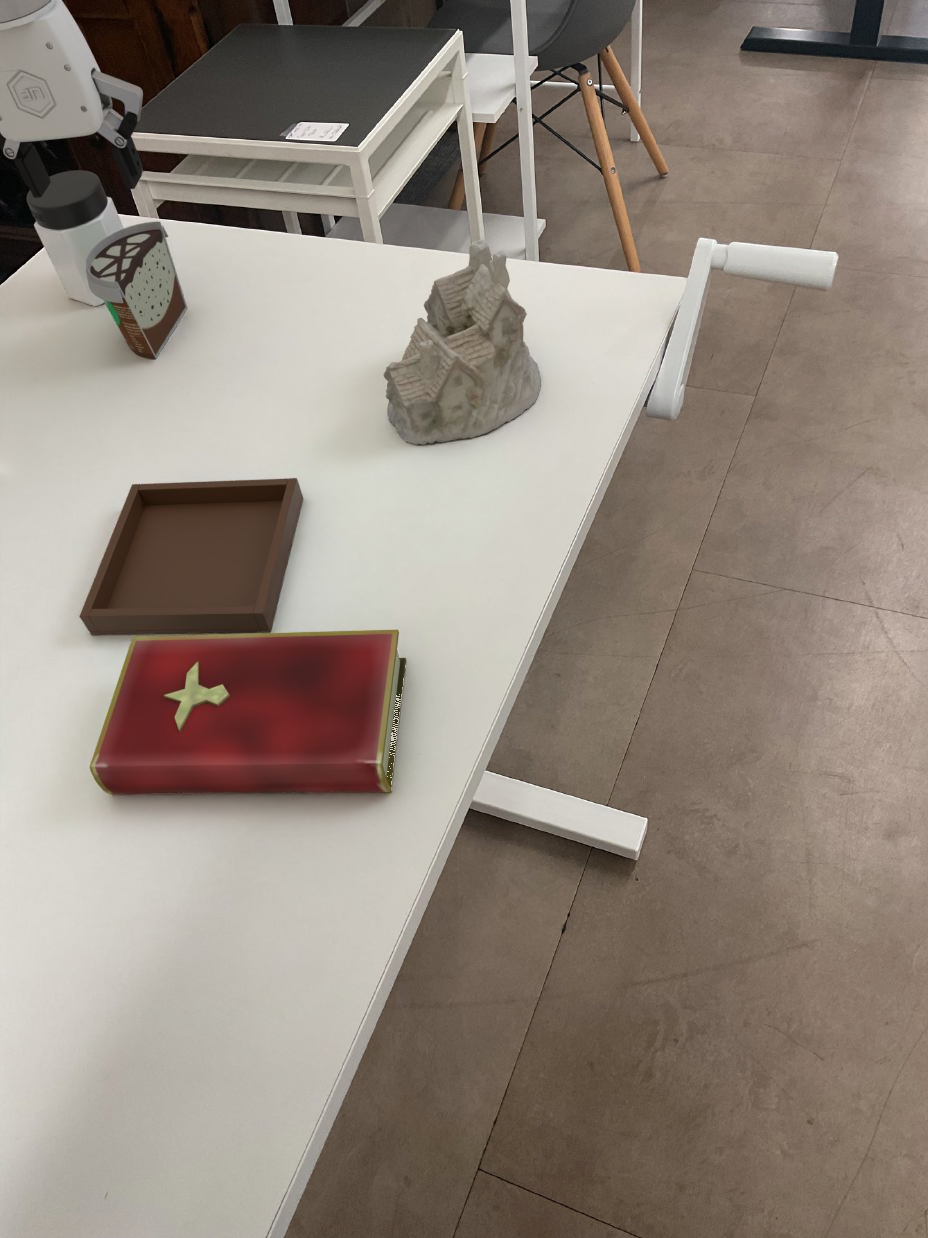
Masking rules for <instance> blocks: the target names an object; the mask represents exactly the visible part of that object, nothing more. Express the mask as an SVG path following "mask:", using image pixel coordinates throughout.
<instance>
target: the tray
mask: <svg viewBox="0 0 928 1238" xmlns="http://www.w3.org/2000/svg"><path fill="white" fill-rule="evenodd" d="M303 502H304V494H303V491H302V489H301V487H300V484H299V480H298V478H297V477H290V478H289V477H288V478H263V479H239V480H238V479H237V480H210V481H208V480H207V481H186V482H184V481H183V482H182V481H181V482H156V483H132V484H131V486H130V489H129V490H128V493H127V496H126V498H125V501H124V504H123V506H122V509H121V511H120V514H119V516H118V518H117V520H116V524H115V526H114V529H113V531H112V534H111V536H110V538H109V540H108V543H107V546H106V549H105V551H104V552H103V553H104V554H103V556H102V557H101V558H102V559H101V561H100V563H99V566H98V569H97V572H96V573H95V576H94V578H93V581H92V584H91V586H90V589H89V591H88V594H87V596H86V598H85V600H84V603H83V606H82V609H81V611H80V613H79V618H80V620H81V621H82V623H83V624H84V627H85V628H86V629H87V631H88V632H89V634H90V635H91V636H115V635H120V636H121V635H123V636H124V635H171V634H172V635H176V634H177V635H182V634H184V635H186V634H188V635H189V634H253V633H272V630H273V625H274V620H275V616H276V611H277V609H278V604H279V601H280V600H279V599H280V596H281V592H282V587H283V584H284V580H285V575H286V571H287V567H288V563H289V558H290V555H291V550H292V546H293V542H294V540H295V539H294V538H295V534H296V530H297V526H298V522H299V518H300V514H301V509H302V505H303Z"/></svg>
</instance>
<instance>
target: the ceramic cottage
mask: <svg viewBox="0 0 928 1238" xmlns="http://www.w3.org/2000/svg"><path fill="white" fill-rule="evenodd" d="M468 249H469V252H468V253H469V255H468V256H469V260H468V265H467V266H466V267H465V268H462V269H460V270H457V271H456V272H454V273H452V274H449V275H446V276H443V277H440V278H438V279H436V280H434V281H433V285H431V290H430V291H431V292H430V294H429V295H428V298H427V299H426V300H425V301H424V303H423V307H424V309H425V312H426V313H427V315H426V319H427V321H426V320H425V319H424V318H423V317H418V318H417V319H416V323H417V324H415V326H413V328H414V330H413V332H412V333H411V335H410V337H409V338H410V341H409V343H408V345H407V347H406V348H405V351H404V353H403V355H402V358H401V360H399V361H393V362H390V364H388V365H387V366H386V368H385V371H384V372H383V378H384V379H385V380H386V381H387V384H386V389H385V398H386V400H388V403H387V408H386V410H387V417H388V421H390V423H391V424H392V426H394V427H395V430H396V432H397V433H398V434H399V436H400V438H401V439H402V440H404V442H405V443H407V442H408V443H409V444H414V445H415V446H416V445H423V446H425V445H427V444H434V443H435V442H438V443H447V442H450V441H455V440H460V439H462V440H465V439H467V438H468V439H469V438H470V439H473V438H476V437H477V436H479V437H480V436H481V435H484V434H488V433H489V432H491V431H493V430H496V429H498V428H500V427H501V426H502V425H504V424H506V422H511V420H515V418H517V417H519V416H521V414H523V413H524V412H525V411H526V409H527V410H529V408H531V407H532V406H533V404H535V403H536V401H537V399H538V396H539V394H540V391H541V387H542V386H541V385H542V384H541V383H542V378H541V373H540V369H539V365H538V362H536V361H535V359H534V358H533V357H532V356H531V353H530V349H529V347H528V345H527V344H526V342H525V341H524V324H523V323H524V321H525V319H526V317H527V315H528V314H527V311H526V309H525V308H524V307H523V306H522V305H520V304H519V303H518V302H517V301H515V300H514V298H512V296H511V293H510V291H509V289H508V288H509V284H510V282H511V279H510V273H509V271H508V268H507V265H506V264H507V257H508V255H507V254H506V252H505V250H503V249H501V250H498V251H496V252H495V253H494V254H493V255H492V254H491V249H490V246H489V245H488V242H487V241H486V240H485V239H482V238H480V239H477V240H474V241H472V242H471V243H470V245H469V248H468Z"/></svg>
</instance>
